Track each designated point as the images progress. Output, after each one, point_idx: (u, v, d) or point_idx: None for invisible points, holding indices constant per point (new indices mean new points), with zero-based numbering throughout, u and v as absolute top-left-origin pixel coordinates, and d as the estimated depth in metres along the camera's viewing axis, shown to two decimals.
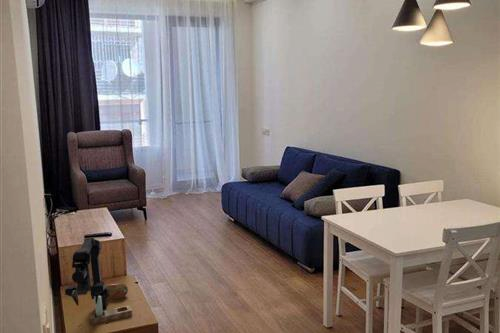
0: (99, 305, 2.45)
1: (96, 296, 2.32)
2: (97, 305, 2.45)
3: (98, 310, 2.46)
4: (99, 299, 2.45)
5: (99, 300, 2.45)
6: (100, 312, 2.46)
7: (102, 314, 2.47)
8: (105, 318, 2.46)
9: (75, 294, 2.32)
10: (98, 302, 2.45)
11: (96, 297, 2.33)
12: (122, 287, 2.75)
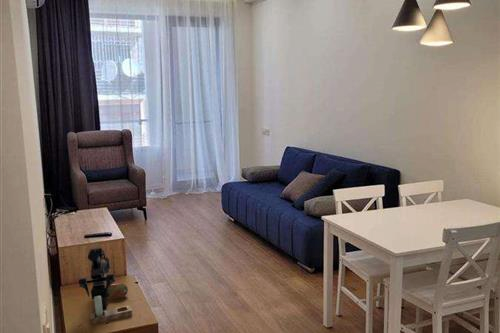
0: (99, 305, 2.45)
1: (107, 285, 2.51)
2: (97, 305, 2.45)
3: (98, 310, 2.46)
4: (99, 299, 2.45)
5: (99, 300, 2.45)
6: (100, 312, 2.46)
7: (102, 314, 2.47)
8: (105, 318, 2.46)
9: (87, 285, 2.50)
10: (98, 302, 2.45)
11: (107, 286, 2.51)
12: (122, 287, 2.75)
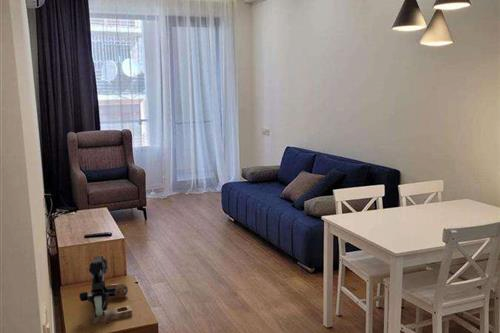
0: (99, 305, 2.45)
1: (103, 300, 2.48)
2: (97, 305, 2.45)
3: (98, 310, 2.46)
4: (99, 299, 2.45)
5: (99, 300, 2.45)
6: (100, 312, 2.46)
7: (102, 314, 2.47)
8: (105, 318, 2.46)
9: (93, 299, 2.48)
10: (98, 302, 2.45)
11: (103, 301, 2.48)
12: (122, 287, 2.75)
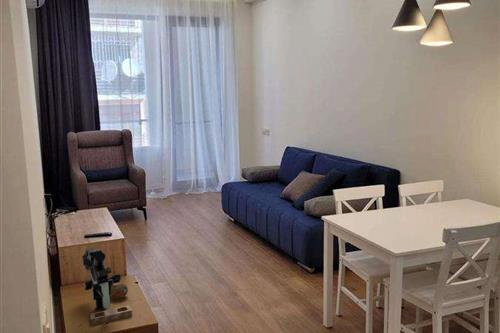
0: (107, 291, 2.45)
1: (109, 286, 2.48)
2: (105, 292, 2.45)
3: (106, 297, 2.45)
4: (107, 285, 2.45)
5: (107, 286, 2.45)
6: (108, 298, 2.46)
7: (109, 300, 2.47)
8: (105, 318, 2.46)
9: None
10: (106, 288, 2.45)
11: (109, 287, 2.48)
12: (122, 287, 2.75)
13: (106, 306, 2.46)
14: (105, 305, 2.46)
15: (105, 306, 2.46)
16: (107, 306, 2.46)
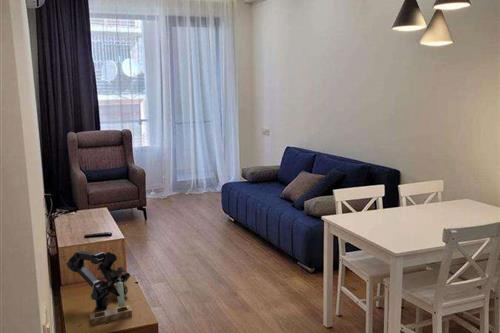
0: (123, 290, 2.50)
1: (123, 285, 2.53)
2: (121, 291, 2.49)
3: (122, 295, 2.50)
4: (122, 284, 2.50)
5: (122, 285, 2.50)
6: (123, 297, 2.50)
7: (124, 299, 2.52)
8: (105, 318, 2.46)
9: None
10: (122, 287, 2.49)
11: (123, 286, 2.52)
12: None
13: (122, 305, 2.50)
14: (121, 304, 2.50)
15: (121, 305, 2.50)
16: (123, 305, 2.50)
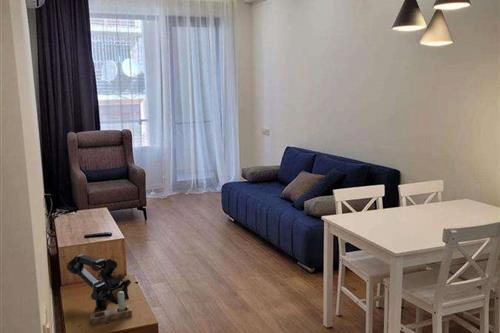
0: (123, 299, 2.51)
1: (126, 291, 2.54)
2: (122, 300, 2.50)
3: (123, 305, 2.50)
4: (123, 293, 2.51)
5: (123, 294, 2.51)
6: (124, 306, 2.51)
7: (125, 308, 2.53)
8: (105, 318, 2.46)
9: None
10: (123, 297, 2.50)
11: (126, 292, 2.54)
12: None
13: None
14: None
15: None
16: None
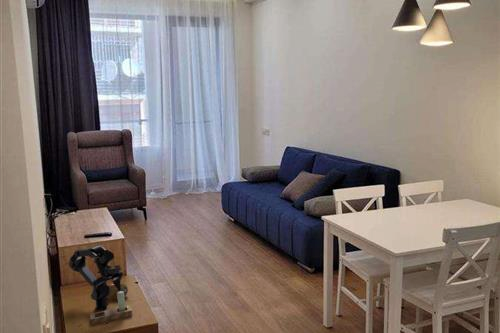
0: (123, 299, 2.51)
1: (119, 282, 2.58)
2: (122, 300, 2.50)
3: (123, 305, 2.50)
4: (123, 294, 2.50)
5: (123, 295, 2.50)
6: (124, 306, 2.51)
7: (125, 308, 2.53)
8: (105, 318, 2.46)
9: None
10: (123, 297, 2.50)
11: (119, 283, 2.57)
12: (122, 287, 2.75)
13: None
14: None
15: None
16: None
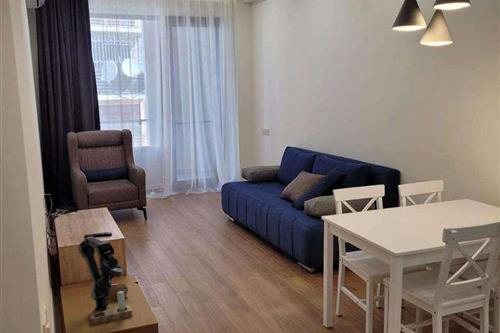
0: (123, 299, 2.51)
1: (111, 280, 2.57)
2: (122, 300, 2.50)
3: (123, 305, 2.50)
4: (123, 294, 2.50)
5: (123, 295, 2.50)
6: (124, 306, 2.51)
7: (125, 308, 2.53)
8: (105, 318, 2.46)
9: None
10: (123, 297, 2.50)
11: (111, 281, 2.57)
12: (122, 287, 2.75)
13: None
14: None
15: None
16: None
